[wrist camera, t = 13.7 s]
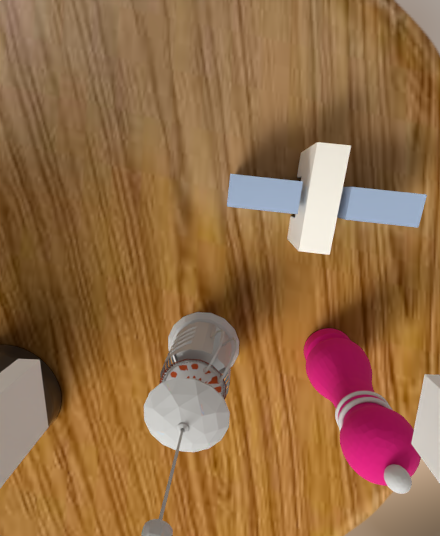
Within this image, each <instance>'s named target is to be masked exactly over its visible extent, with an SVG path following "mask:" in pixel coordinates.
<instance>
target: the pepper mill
mask: <svg viewBox="0 0 440 536" xmlns="http://www.w3.org/2000/svg"><path fill="white" fill-rule="evenodd" d="M304 356H305V359H306V372H307V375H308V378H309V380H310V382H311V384H312V385H313V386H314V388H315V389H316V390H317V391H318V392H319V393H320V394H321V395H323V396H324V397H326V398H327V399H329V400H330V401H331V402H332V403H333V404H334V406H335V408H336V412H335V418H336V422H337V424H338V426H339V429H340V445H341V448H342V452H343V454H344V456H345V458H346V460H347V461H348V463H349V465H350V466H351V467H352V468H353V469H354V471H355V472H356V473H357V474H359V475H360V476H361V477H363V478H364V479H366V480H368V481H370V482H372V483H375V484H379V485H386V486H388V487H389V488H390V489H391V490H393V491H394V492H397V493H402V494H403V493H406V492H408V491H409V490H410V488H411V485H412V481H411V476H412V475H413V474H414V473H415V471H416V469H417V467H418V465H419V462H420V458H421V457H420V455H419V454H418V452H417V451H416V450H415V448H414V447H413V445H412V444H411V443H412V437H413V432H414V430H413V428H412V427H411V425H410V424H409V423H408V422H407V421H406V419H405V418H404V417H403V416H401V415H400V414H398V413H397V412H395V411H393V410H392V408H391V407H390V406H389V404H388V403H387V401H386V400H385V399H384V398H383V397H382V396H381V395H379V394H377V393H375V392H374V390H373V387H372V369H371V365H370V362H369V359H368V358H367V356H366V354H365V352H364V351H363V350H362V348H360V347H359V346H358V345H357V344H356V343H354V342H352V341H351V340H350V339H349V338H348V336H347V335H346V334H345V333H343V332H342V331H340V330H337V329H332V328H326V329H321V330H318V331H316V332H315V333H313V334H312V335H311V336H310V337H309V338H308V339H307V341H306V343H305V346H304Z"/></svg>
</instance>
